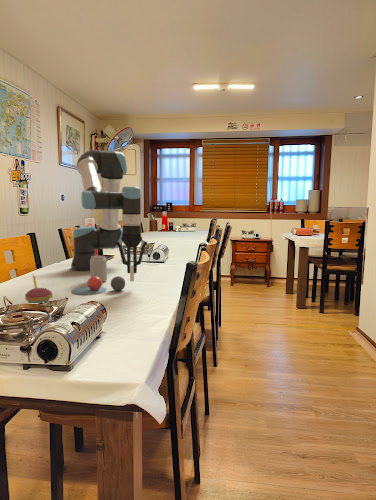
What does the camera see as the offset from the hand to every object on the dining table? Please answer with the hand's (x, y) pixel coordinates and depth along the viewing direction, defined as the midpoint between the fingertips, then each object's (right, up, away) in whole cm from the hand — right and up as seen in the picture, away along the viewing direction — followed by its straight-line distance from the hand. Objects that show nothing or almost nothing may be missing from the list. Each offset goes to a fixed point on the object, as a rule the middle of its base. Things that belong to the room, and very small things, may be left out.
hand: (132, 280), depth 140 cm
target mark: (-18, -4, -1) cm, 18 cm away
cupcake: (-28, -7, -25) cm, 38 cm away
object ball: (-15, -1, -1) cm, 16 cm away
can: (-18, -2, +16) cm, 24 cm away
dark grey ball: (-6, -1, -1) cm, 6 cm away
